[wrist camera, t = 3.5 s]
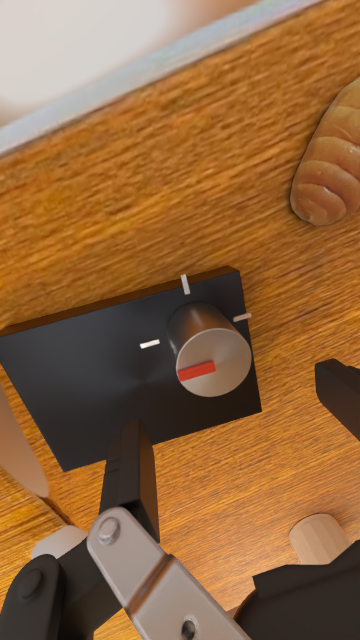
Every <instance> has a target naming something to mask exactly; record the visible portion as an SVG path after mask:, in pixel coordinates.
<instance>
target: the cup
mask: <svg viewBox="0 0 360 640" xmlns="http://www.w3.org/2000/svg"><path fill="white" fill-rule="evenodd" d="M289 542H290V544H291V547H292V550H293V552H294V554H295V556H296V558H297V560H298V562H299V565H324V564H329V563H330V562H332V561H333V560H334V559H335V558H336V557H338V556H339V555H340V554H341V553H342V552H343V551H345V550H346V549H347V548H348V547H349V546H350V545H352V543H351V541H350V540H349V538H348V537H347V535H346V534H345V532H344V531H343V529H342V528H341V526H340V525H339V524H338V522H337V521H336V519H335V518H334V517H333V516H331V515H329V514H315V515H311V516H308V517H306V518H304V519H302V520H301V521H299V522H298V523H297V524H296V525H295V526H294V527H293V528H292V530H291V531H290V534H289Z"/></svg>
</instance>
